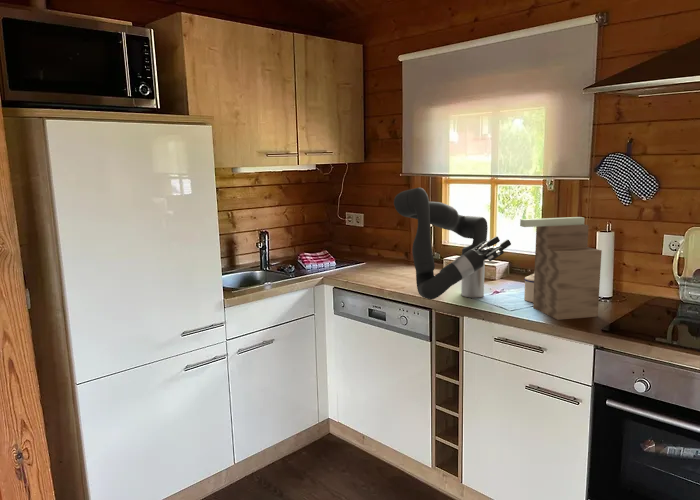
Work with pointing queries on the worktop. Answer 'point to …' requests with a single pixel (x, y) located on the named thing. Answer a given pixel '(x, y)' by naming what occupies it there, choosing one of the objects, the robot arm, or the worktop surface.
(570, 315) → the brown wooden tall block
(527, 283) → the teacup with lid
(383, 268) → the worktop surface
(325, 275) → the worktop surface
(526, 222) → the sage slat
